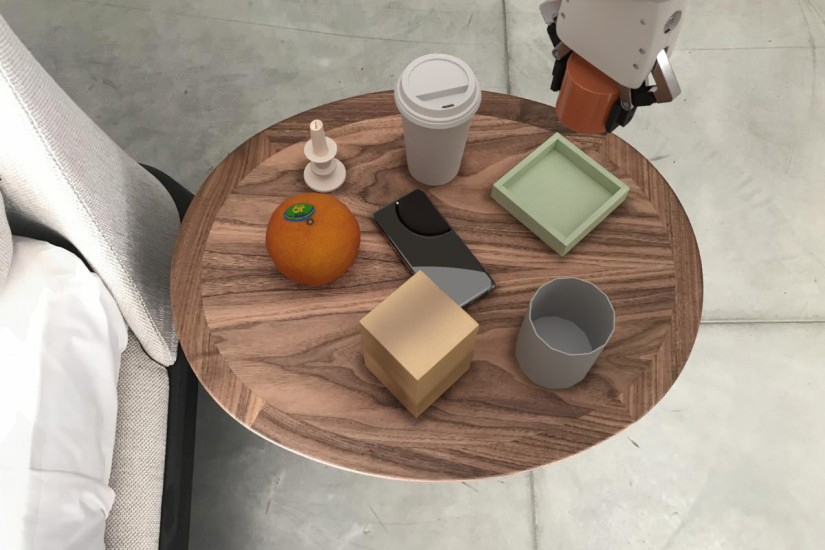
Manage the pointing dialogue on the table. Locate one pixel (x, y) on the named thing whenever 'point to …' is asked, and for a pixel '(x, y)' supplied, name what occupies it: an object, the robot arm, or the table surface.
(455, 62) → the coffee cup
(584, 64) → the orange cylinder puck
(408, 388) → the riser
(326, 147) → the candle
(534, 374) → the cup
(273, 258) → the fruit
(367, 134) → the table surface
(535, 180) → the tray
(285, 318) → the table surface
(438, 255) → the smartphone
